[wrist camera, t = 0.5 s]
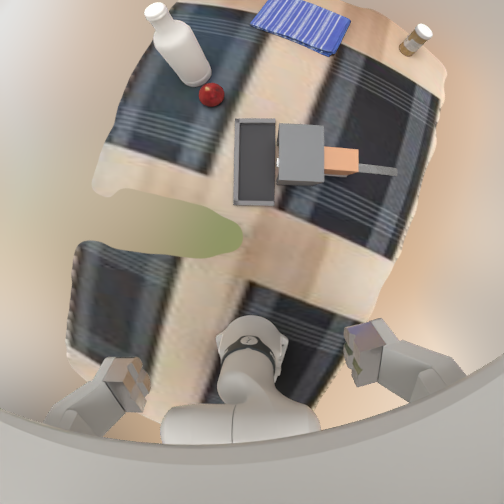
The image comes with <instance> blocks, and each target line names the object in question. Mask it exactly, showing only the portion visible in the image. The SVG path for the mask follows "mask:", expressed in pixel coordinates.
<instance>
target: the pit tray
mask: <svg viewBox="0 0 504 504" xmlns="http://www.w3.org/2000/svg"><path fill="white" fill-rule="evenodd" d="M274 185H275V119H256V118H252V119H235V148H234V204H233V205H264V206H274Z"/></svg>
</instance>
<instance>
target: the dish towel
mask: <svg viewBox="0 0 504 504" xmlns="http://www.w3.org/2000/svg"><path fill="white" fill-rule="evenodd" d="M350 23H351V20H350V19H348V18H346V17H343V16H341V15H338V14H336V13H334V12H332V11H329V10H326V9H324V8H321V7H319V6H317V5H314V4H311V3H308V2H305V1H303V0H268V1H267V2H266V4H265V5H264V6H263V7H262V9H261V10H260V11H259V13H258V14H257V15H256V16H255V18H254V19H253V20H252V22H251V23H250V25H251V26H253V27H255V28H257V29H260V30H263V31H266V32H269V33H272V34H274V35H278V36H280V37H283V38H285V39H288V40H291V41H293V42H295V43H298V44H300V45H302V46H305V47H307V48H309V49H311V50H314V51H316V52H318V53H320V54H322V55H325V56H327V57H330V55H332V54H335V52H336V50H337V49H338V47H339V45H340V43H341V41H342V38H343V37H344V35H345V33H346V31H347V29H348V26H349V24H350Z"/></svg>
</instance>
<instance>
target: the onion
mask: <svg viewBox="0 0 504 504" xmlns="http://www.w3.org/2000/svg"><path fill="white" fill-rule="evenodd" d="M199 99H200V101H201V102H202V104H204V105H206V106H208V107H213V106H217V105H218V104H220V103H221V102H222V100H223V99H224V91H223V88H222V87H221V86H219V85H218V84H215V83H208V84H205V85H204V86H203V87H202V88H201V89H200V91H199Z"/></svg>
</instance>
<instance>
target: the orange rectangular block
mask: <svg viewBox="0 0 504 504" xmlns="http://www.w3.org/2000/svg"><path fill="white" fill-rule="evenodd" d="M356 172H358V150H355V149H346V148H335V147H324V176H336V177H347V175H349V174H353V173H356Z"/></svg>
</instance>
